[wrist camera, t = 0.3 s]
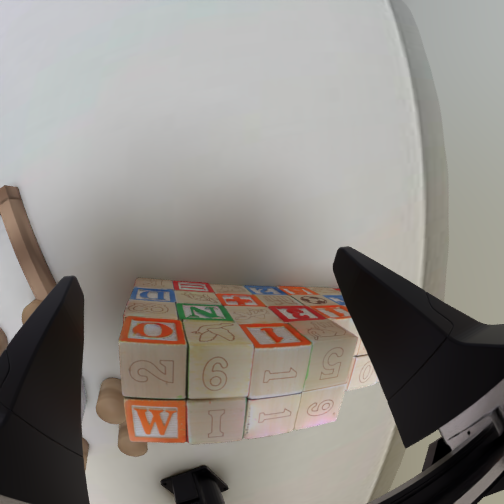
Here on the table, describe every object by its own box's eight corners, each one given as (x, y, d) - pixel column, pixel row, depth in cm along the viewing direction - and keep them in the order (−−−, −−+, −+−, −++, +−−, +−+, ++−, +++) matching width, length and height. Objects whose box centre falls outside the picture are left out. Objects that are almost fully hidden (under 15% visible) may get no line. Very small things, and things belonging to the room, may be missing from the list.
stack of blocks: (354, 286, 29) (446, 322, 18) (343, 341, 30) (423, 393, 18) (134, 276, 22) (115, 341, 11) (134, 346, 23) (127, 445, 11)
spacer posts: (159, 425, 24) (162, 448, 21) (68, 455, 21) (63, 475, 18) (63, 281, 20) (49, 293, 17) (-25, 334, 17) (-41, 348, 14)
